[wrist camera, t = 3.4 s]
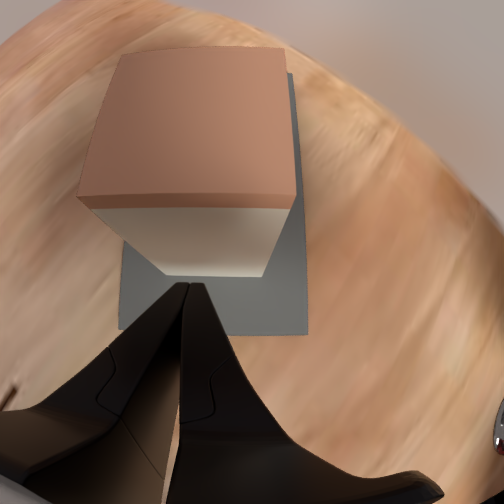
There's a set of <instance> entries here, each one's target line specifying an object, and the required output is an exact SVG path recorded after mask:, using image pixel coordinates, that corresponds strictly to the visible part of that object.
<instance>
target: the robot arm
mask: <svg viewBox="0 0 504 504" xmlns="http://www.w3.org/2000/svg"><path fill="white" fill-rule="evenodd" d="M108 347H109V348H108ZM108 347H106V348H105V349H104V350H103V351H102V352H101V353H100V354H99V355H98V356H97V357H96V358H95V359H94V360H92V361H91V362H90V363H89V364H88V365H87V366H86V367H85V368H83V369H82V370H81V371H80V372H78V373H77V374H76V375H75V376H74V377H72V378H71V379H70V380H68V381H67V382H66V383H65V384H63V385H62V386H61V387H60V388H58V389H57V390H56V391H54V392H53V393H52V394H51V395H49V396H48V397H47V398H46V399H44V400H43V401H41V402H40V403H38V404H37V405H35V406H33V407H30V408H27V409H22V410H14V411H3V412H0V504H161V499H162V493H163V487H164V480H165V474H166V468H167V463H168V457H169V451H170V446H171V441H172V435H173V430H174V425H175V419H176V414H177V409H178V404H179V424H180V433H179V446H178V451H177V455H176V459H175V464H174V468H173V473H172V477H171V481H170V486H169V490H168V495H167V500H166V504H433V503H435V502H436V501H438V500H440V499H441V498H443V497H444V495H445V494H444V492H443V491H442V489H441V488H440V487H439V486H438V485H437V484H436V483H435V482H434V481H433V480H431V479H430V478H428V477H427V476H425V475H424V474H422V473H421V472H419V471H405V472H401V473H396V474H393V475H389V476H385V477H380V478H362V477H357V476H353V475H351V474H349V473H346V472H344V471H343V470H341V469H339V468H337V467H335V466H334V465H332V464H330V463H328V462H326V461H325V460H323V459H321V458H320V457H318V456H316V455H314V454H313V453H311V452H309V451H308V450H306V449H305V448H303V447H301V446H300V445H298V444H297V443H296V442H294V441H293V440H292V439H291V438H290V437H289V436H288V435H287V434H286V432H285V431H284V430H283V429H282V428H281V426H280V425H279V424H278V422H277V421H276V420H275V418H274V417H273V415H272V414H271V413H270V411H269V410H268V409H267V407H266V406H265V404H264V403H263V402H262V400H261V399H260V397H259V396H258V394H257V393H256V391H255V390H254V388H253V387H252V385H251V384H250V382H249V380H248V379H247V377H246V375H245V373H244V371H243V369H242V367H241V365H240V363H239V361H238V359H237V357H236V356H235V353H234V350H233V348H232V346H231V344H230V341H229V339H228V337H227V335H226V332H225V330H224V328H223V326H222V323H221V321H220V319H219V316H218V314H217V312H216V309H215V307H214V305H213V302H212V300H211V298H210V295H209V293H208V290H207V288H206V286H205V284H204V283H203V282H192V283H191V284H190V283H189V282H176V283H175V284H174V285H172V286H171V287H170V288H169V289H168V290H167V291H166V292H165V293H164V294H163V295H162V296H160V297H159V298H158V299H157V300H156V301H155V302H154V303H153V304H152V305H151V306H150V307H149V308H148V309H147V310H145V311H144V312H143V313H142V314H141V315H140V316H139V317H138V318H137V319H136V320H135V321H134V322H133V323H132V324H131V325H129V326H128V327H127V328H126V329H125V330H124V331H123V332H122V333H121V334H120V335H119V336H118V337H117V338H116V339H115V340H114V341H113V342H112V343H111V344H110V345H109V346H108ZM480 504H504V490H502V491H501V492H499V493H497V494H496V495H494V496H492V497H491V498H489V499H487V500H485V501H484V502H482V503H480Z"/></svg>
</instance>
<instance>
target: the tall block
mask: <svg viewBox="0 0 504 504" xmlns="http://www.w3.org/2000/svg"><path fill="white" fill-rule="evenodd" d="M296 195H297V194H296V177H295V161H294V147H293V134H292V122H291V110H290V99H289V88H288V78H287V69H286V59H285V50H284V49H283V48H269V47H243V46H215V47H189V48H175V49H164V50H154V51H146V52H138V53H131V54H125V55H122V56H121V58H120V61H119V63H118V65H117V68H116V70H115V73H114V75H113V78H112V80H111V83H110V85H109V88H108V90H107V93H106V96H105V98H104V101H103V104H102V107H101V110H100V113H99V116H98V119H97V122H96V125H95V128H94V131H93V134H92V138H91V141H90V144H89V148H88V151H87V155H86V159H85V162H84V166H83V170H82V174H81V178H80V183H79V187H78V191H77V196H76V197H77V198H78V199H79V200H81V201H82V202H83V203H84V204H85V205H86V206H87V207H88V208H89V209H90V210H91V211H92V212H94V213H95V214H96V215H97V216H98V217H99V218H100V219H101V220H102V221H103V222H105V223H106V224H107V225H108V226H109V227H110V228H111V229H112V230H114V231H115V232H116V233H117V234H118V235H119V236H120V237H122V238H123V239H124V240H125V241H126V242H127V243H128V244H130V245H131V246H132V247H133V248H134V249H135V250H137V251H138V252H139V253H140V254H141V255H143V256H144V257H145V258H146V259H147V260H148V261H150V262H151V263H152V264H153V265H154V266H156V267H157V268H158V269H159V270H161V271H162V272H163V273H164V274H165V275H175V276H220V277H262V275H263V273H264V270H265V268H266V266H267V263H268V261H269V259H270V256H271V254H272V252H273V249H274V247H275V245H276V242H277V240H278V238H279V235H280V233H281V231H282V228H283V226H284V224H285V221H286V219H287V216H288V214H289V212H290V209H291V207H292V205H293V202H294V200H295V197H296Z"/></svg>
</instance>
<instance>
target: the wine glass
mask: <svg viewBox="0 0 504 504" xmlns="http://www.w3.org/2000/svg"><path fill="white" fill-rule="evenodd" d="M493 442H494V447H495V450H496V451H497V452H498V453H499V454H500V455H504V399H503V401H502V404H501V406H500V408H499V411H498V414H497V417H496V421H495V426H494V433H493Z"/></svg>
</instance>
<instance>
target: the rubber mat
mask: <svg viewBox="0 0 504 504" xmlns="http://www.w3.org/2000/svg"><path fill="white" fill-rule="evenodd" d="M287 78H288V88H289V99H290V110H291V122H292V134H293V147H294V161H295V177H296V194H297V195H296V197H295V200H294V202H293V205H292V207H291V209H290V212H289V214H288V216H287V219H286V221H285V224H284V226H283V228H282V231H281V233H280V235H279V238H278V240H277V242H276V245H275V247H274V249H273V252H272V254H271V256H270V259H269V261H268V263H267V266H266V268H265V270H264V273H263V275H262V277H220V276H175V275H165V274H164V273H163V272H162V271H161V270H159V269H158V268H157V267H156V266H154V265H153V264H152V263H151V262H150V261H148V260H147V259H146V258H145V257H144V256H143V255H141V254H140V253H139V252H138V251H137V250H135V249H134V248H133V247H132V246H131V245H130V244H128V243H127V242H126V241H125V242H124V251H123V262H122V273H121V286H120V302H119V324H118V329H119V330H125V329H126V328H127V327H128V326H129V325H131V324H132V323H133V322H134V321H135V320H136V319H137V318H138V317H139V316H140V315H141V314H142V313H143V312H144V311H145V310H147V309H148V308H149V307H150V306H151V305H152V304H153V303H154V302H155V301H156V300H157V299H158V298H159V297H160V296H162V295H163V294H164V293H165V292H166V291H167V290H168V289H169V288H170V287H171V286H172V285H174V284H175V283H176V282H189V283H190V284H191V283H192V282H203V283H204V284H205V286H206V288H207V290H208V293H209V295H210V298H211V300H212V302H213V305H214V307H215V309H216V312H217V314H218V316H219V319H220V321H221V323H222V326H223V328H224V330H225V332H226V335H231V336H284V335H308V290H307V258H306V234H305V215H304V198H303V183H302V169H301V156H300V144H299V133H298V122H297V112H296V102H295V93H294V84H293V76H292V73H287Z"/></svg>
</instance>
